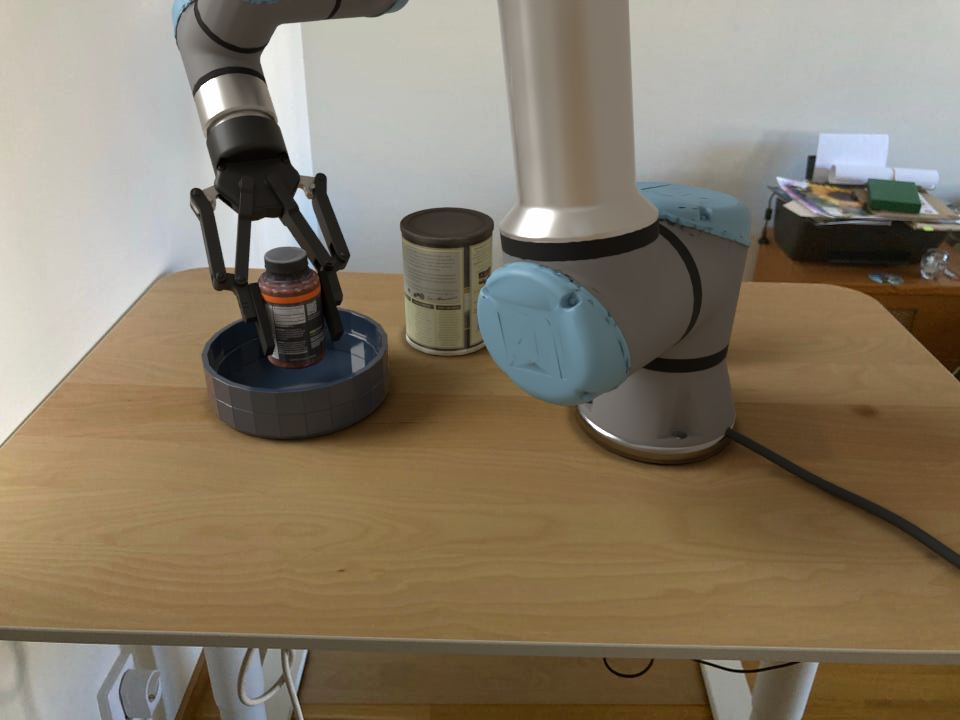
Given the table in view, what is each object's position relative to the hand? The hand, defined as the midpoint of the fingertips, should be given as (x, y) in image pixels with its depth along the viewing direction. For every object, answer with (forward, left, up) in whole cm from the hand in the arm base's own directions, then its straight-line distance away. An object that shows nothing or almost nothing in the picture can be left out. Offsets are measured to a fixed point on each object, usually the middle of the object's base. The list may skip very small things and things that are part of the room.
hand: (304, 343), depth 74 cm
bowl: (+3, -2, -7) cm, 8 cm away
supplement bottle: (+3, -2, -4) cm, 5 cm away
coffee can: (-1, -21, -7) cm, 22 cm away
